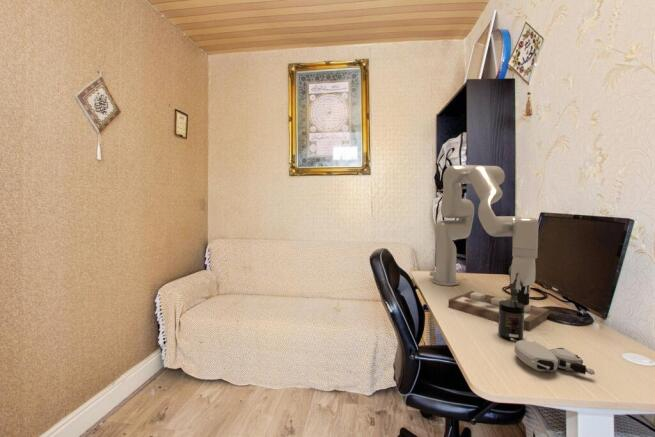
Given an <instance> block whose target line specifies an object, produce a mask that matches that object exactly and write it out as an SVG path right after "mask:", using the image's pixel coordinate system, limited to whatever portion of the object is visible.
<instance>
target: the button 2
mask: <svg viewBox="0 0 655 437" xmlns="http://www.w3.org/2000/svg"><path fill="white" fill-rule="evenodd" d="M524 306H525V309H524V310H525V311H524V312H526V313H528V312H530V311H531V304H528V305H524Z"/></svg>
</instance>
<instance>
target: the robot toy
mask: <svg viewBox="0 0 655 437" xmlns="http://www.w3.org/2000/svg"><path fill="white" fill-rule="evenodd" d="M511 340H513V341H512V342H515V344H514V353H515V355H516V357H517V358H518V359H519V360H520V361H522V362H523V363H524V364H525V365H527V366H529V367H530V368H532V369H533V370H535V371H537V372H554V371H557V369H563V370H565V371H567V372H569V371H570V372H573V371H574V372H576V373H579V374H582V375H586V373H587V374H589V375H593V376H594V375H595V373H596V372H595V370H594V369H593V368H588V367H587V365H585V364H583V363H584V360H583V359H582V357H580V356H579V355H578V354H576V353H573V352H572V351H570V350H568V349H567V348H564V347H557V348H554V347H553V348H551V349H548V348H547V347H546V346H544V345H542V344H540V343H537V342H535V341H527V340H523V339H522V340H520V341H517V340H514V339H512V338H511Z"/></svg>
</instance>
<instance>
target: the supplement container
mask: <svg viewBox="0 0 655 437" xmlns="http://www.w3.org/2000/svg"><path fill="white" fill-rule="evenodd" d="M509 300H510V299H507V300H502V301H499V322H498V327H497V328H498V329H497V331H498V332H497V333H498V335H499V337H500V338H502V339H505V340H507V341H511V342H514V341H513V340H511V338H512V339H514V340H517V341H520V340H522V341H523V339H524V331H525V330H524V311H525V310H524V309H525V306H524V304H522V303H519V302H517V301H515V300H511V301H509Z"/></svg>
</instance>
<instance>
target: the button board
mask: <svg viewBox="0 0 655 437" xmlns="http://www.w3.org/2000/svg"><path fill="white" fill-rule="evenodd" d="M474 292H475V291H474V290H473V291H472V290H470V291H468V292H465V293H463V294H460V295H457V296H455V297H452V298H449V299H448V308H450V309H453V310H456V311H461V312H464V313H467V314H470V315H474V316H477V317H481V318H484V319H488V320H491V321H493V322H496V323H499V305H495V304H492V303H491V299H492V298H494V297H496V296H494V295H489V294H486V293H484V294H485V299H484V300H482V301H480V300H476V299H472V298H470V294H471V293H474ZM476 292H477V293H479V292H478V291H476ZM497 297H498V296H497ZM498 298H500V297H498ZM501 298H502V297H501ZM502 299H504V298H502ZM508 300H509V301H512V299H511V300H510V299H508ZM530 305H531V304H530ZM548 315H550V309H548V308H545V307H540V306H535V305H531V311H530V312H528V313H526V312H524V331H528V332H530V331H532V330H533V329H535V328H536V327H537V326H539V325H541V324H542V323H543V322H545V321H546V320H547V317H548Z"/></svg>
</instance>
